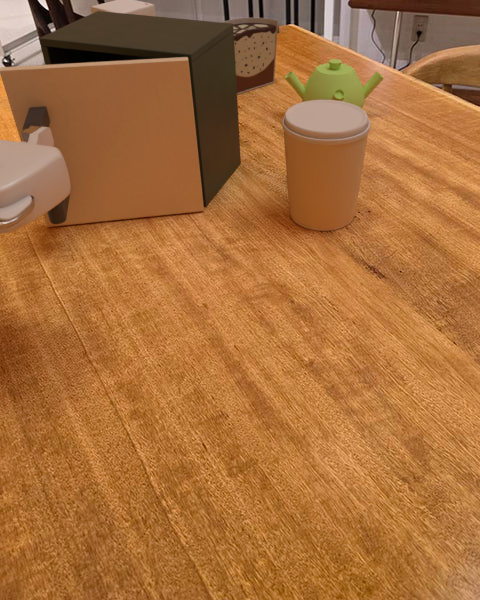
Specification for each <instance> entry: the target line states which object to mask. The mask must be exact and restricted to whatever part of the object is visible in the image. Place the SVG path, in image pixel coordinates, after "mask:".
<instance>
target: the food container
mask: <svg viewBox="0 0 480 600" xmlns="http://www.w3.org/2000/svg"><path fill="white" fill-rule="evenodd" d="M221 23H231V24H233V31H234V47H235V65H236V84H237V96H238V95H240V94H244V93H248V92H251V91H253V90H257V89H259V88H262V87H266V86H268V85H269V86H270V85H272V84H275V76H276V61H277V47H278V46H277V43H278V34H281V30H280V24H279V21H278V20H277V19H273V18H268V17H267V18H266V17H240V18H233V19H228V20H224V21H222V22H221Z"/></svg>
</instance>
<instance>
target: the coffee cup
mask: <svg viewBox="0 0 480 600" xmlns="http://www.w3.org/2000/svg"><path fill="white" fill-rule="evenodd" d="M281 126H282V127H281V128H282V130H283V140H284V157H285V172H286V185H287V197H288V209H289V215H290V218H291V219H292V221H293V222H294V223H295V224H296V225H298V226H300V227H302V228H305V229H308V230H311V231H316V232H317V231H319V232H330V231H337V230H340V229H342V228H345V227H347V226H349V225H350V224H351V223H352V221H353V220H354V219H355V216H356V210H357V206H358V199H359V193H360V187H361V182H362V174H363V168H364V164H365V163H364V162H365V156H366V150H367V144H368V135H369V133H370V130H371V120H370V119H369V114H368V113H367V112H366V111H365V110H364V109H363V107H362V108H360V107H358V106H356V105H354V104H351V103H347V102H343V101H336V100H311V101H305V102H302V101H301V102H297V103H295V104H293V105H292V106H290V107H289V108H287V110H286V111H285V113H284V116H283V117H282V120H281Z"/></svg>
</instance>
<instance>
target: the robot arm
mask: <svg viewBox="0 0 480 600" xmlns="http://www.w3.org/2000/svg"><path fill="white" fill-rule="evenodd" d="M21 133H22V137H23V140H24V141H25V142H23V141H21V140H20V141H14V140H6V139H0V235H4V234H9V233H14V232H16V231H18V230H20V229H21V230H22V229H23V228H25V227H27V226H28V225H31V224H32V223H33V222H35V221H37V220H38V219H39V218H41V217H42V216H44V214H45V213H47V212H48V211H50V210H51V209H52V208H54V207H55V206H56V205H58V204H59V203H60V202H61V201H63V200H64V199H65V198H66V197H67V196H68V195H69V194H70V190H71V184H70V178H69V174H68V170H67V166H66V163H65V161H64V158H63V156H62V154H61V152H60V150H59V149H58V148H56V147H53V146H54V140H53V136H52V132H51V129H50V128H49V127H42V126H33V125H31V126H30V127H29V128H28V129H25V130H24V131H22V132H21Z"/></svg>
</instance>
